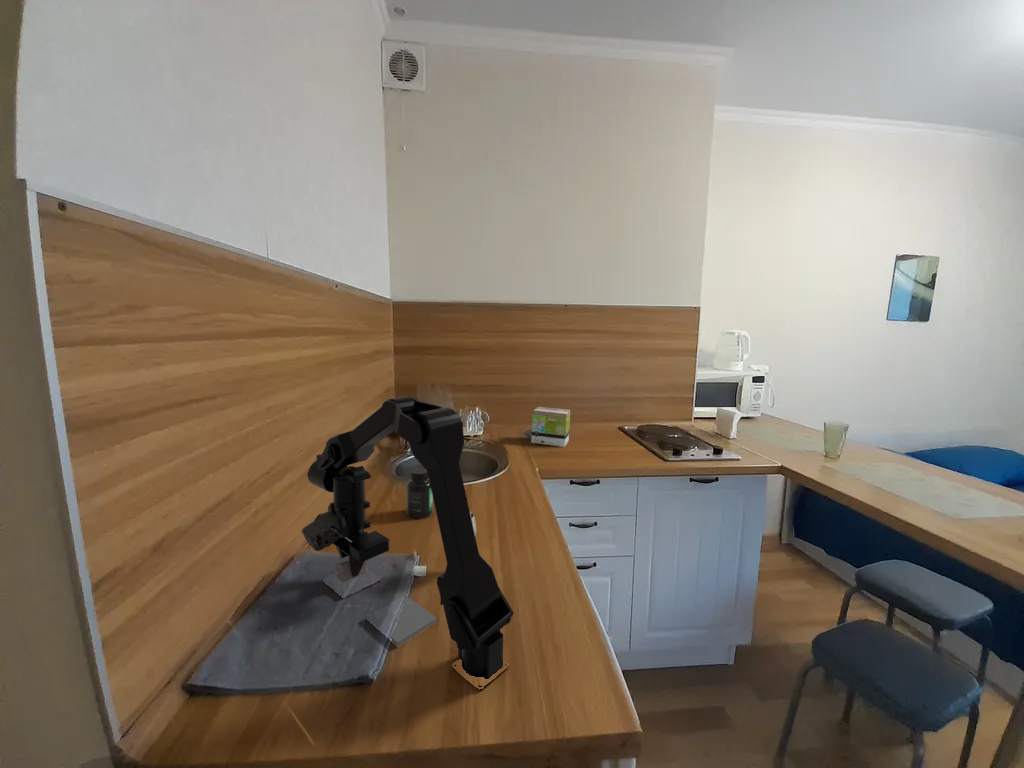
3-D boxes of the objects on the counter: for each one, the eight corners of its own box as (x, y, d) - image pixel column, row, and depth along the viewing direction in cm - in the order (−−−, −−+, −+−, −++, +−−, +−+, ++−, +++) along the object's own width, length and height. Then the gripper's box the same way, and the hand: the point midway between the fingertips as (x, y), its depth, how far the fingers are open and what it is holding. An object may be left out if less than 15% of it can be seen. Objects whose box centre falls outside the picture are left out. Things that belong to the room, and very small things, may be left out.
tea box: (530, 443, 190) (531, 410, 188) (536, 438, 199) (537, 406, 197) (565, 447, 186) (566, 413, 184) (569, 441, 195) (570, 408, 193)
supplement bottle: (437, 514, 119) (437, 471, 117) (415, 521, 114) (415, 477, 113) (424, 506, 124) (424, 465, 122) (402, 512, 119) (401, 470, 118)
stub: (380, 581, 88) (380, 558, 87) (342, 599, 82) (341, 574, 81) (359, 565, 93) (359, 543, 92) (322, 581, 87) (321, 558, 86)
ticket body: (437, 624, 76) (437, 617, 76) (397, 649, 70) (397, 641, 70) (405, 600, 82) (405, 594, 82) (366, 621, 76) (366, 614, 76)
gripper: (285, 496, 85) (289, 571, 87) (332, 527, 73) (335, 614, 75) (340, 481, 93) (342, 550, 96) (390, 507, 81) (391, 586, 83)
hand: (351, 573), depth 87 cm, fingers closed on stub, 2 cm apart
